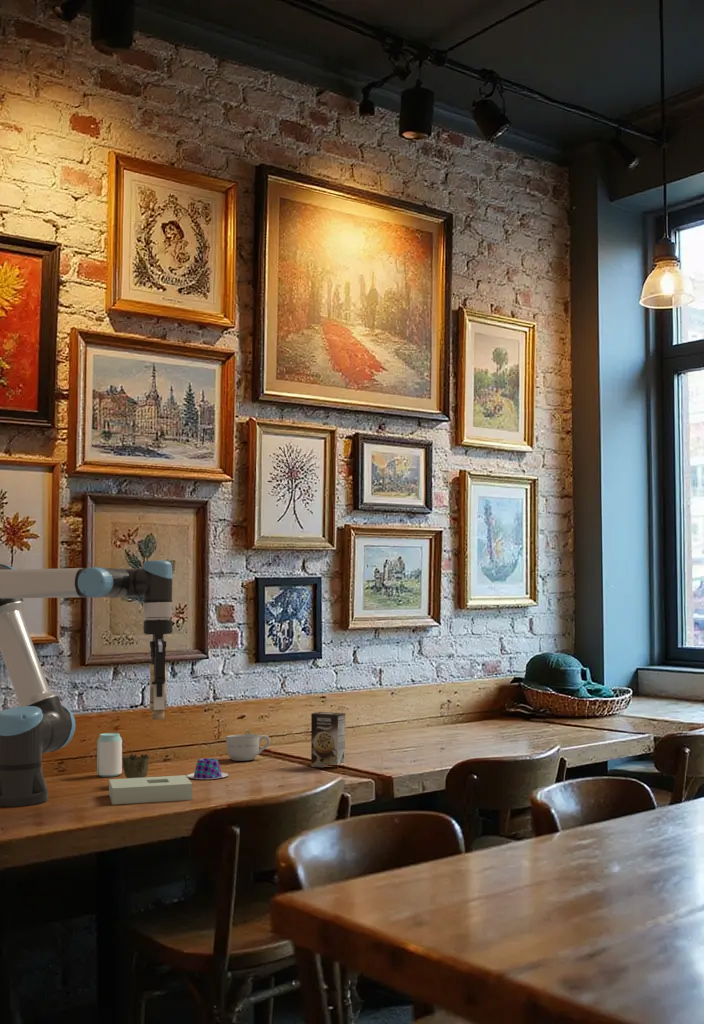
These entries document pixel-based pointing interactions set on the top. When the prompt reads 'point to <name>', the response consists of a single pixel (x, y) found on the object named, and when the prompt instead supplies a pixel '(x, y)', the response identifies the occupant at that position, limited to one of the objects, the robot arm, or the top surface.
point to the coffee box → (327, 739)
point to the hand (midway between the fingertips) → (158, 708)
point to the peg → (155, 713)
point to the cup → (135, 766)
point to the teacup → (245, 746)
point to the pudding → (207, 769)
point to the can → (109, 755)
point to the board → (150, 789)
